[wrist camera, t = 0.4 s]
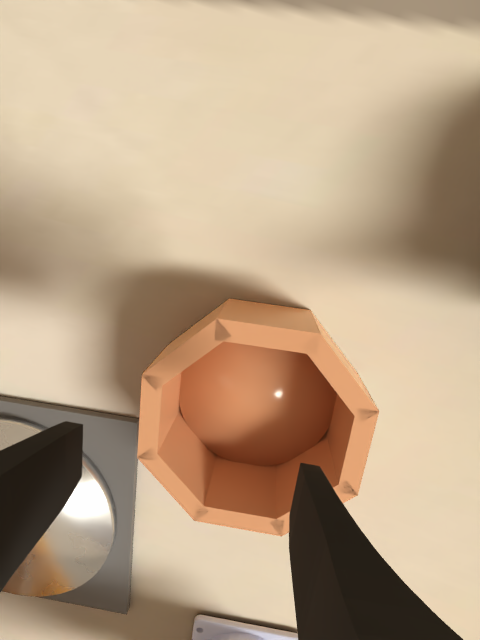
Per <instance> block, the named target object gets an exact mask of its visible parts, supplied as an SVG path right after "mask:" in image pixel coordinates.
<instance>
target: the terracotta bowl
mask: <svg viewBox="0 0 480 640" xmlns="http://www.w3.org/2000/svg"><path fill="white" fill-rule="evenodd" d="M180 408H181V410H180ZM378 414H379V410H378V408H377V407H376V405H375V403H374V401H373V400H372V398H371V396H370V394H369V392H368V391H367V389H366V387H365V385H364V384H363V382H362V380H361V378H360V377H359V375H358V373H357V372H356V370H355V369H354V368H353V366H352V365H351V364H350V362H349V361H348V360H347V358H346V357H345V356H344V354H343V353H342V352H341V350H340V349H339V348H338V346H337V345H336V344H335V342H334V341H333V340H332V338H331V337H330V336H329V334H328V333H327V332H326V330H325V329H324V328H323V326H322V325H321V323H320V322H319V321H318V319H317V318H316V317H315V315H314V314H313V313H312V311H311V310H307V309H300V308H293V307H286V306H279V305H272V304H265V303H258V302H251V301H244V300H236V299H230V298H229V299H228V300H227V301H225V302H224V303H223V304H221V305H220V306H219V307H217V308H216V309H215V310H213V311H212V312H211V313H209V314H208V315H207V316H205V317H204V318H203V319H201V320H200V321H199V322H197V323H196V324H195V325H193V326H192V327H191V328H190V329H188V330H187V331H186V332H184V333H183V334H182V335H180V336H179V337H178V338H176V339H175V340H174V341H172V342H171V343H170V344H168V345H167V347H166V348H165V349H164V350H163V351H162V352H161V353H160V354H159V356H158V357H157V358H156V359H155V360H154V361H153V362H152V363H151V364H150V366H149V367H148V368H147V369H146V370H145V371H144V372H143V373H142V381H141V399H140V417H139V435H138V453H137V458H138V459H139V460H140V461H141V462H142V463H143V465H144V466H145V467H146V468H147V469H148V470H149V471H150V472H151V473H152V474H153V476H154V477H155V478H156V479H157V480H158V481H159V482H160V483H161V484H162V485H163V487H164V488H165V489H166V490H167V491H168V492H169V493H170V494H171V495H172V497H173V498H174V499H175V500H176V501H177V502H178V503H179V504H180V505H181V506H182V508H183V509H184V510H185V511H186V512H187V513H188V514H189V515H190V516H191V518H192V519H193V520H194V521H199V522H205V523H210V524H216V525H221V526H227V527H232V528H238V529H244V530H249V531H255V532H260V533H266V534H272V535H277V536H283V535H285V534H286V533H288V532H289V514H290V510H291V505H292V500H293V495H294V491H295V486H296V481H297V476H298V472H299V467H300V463H306V464H311V465H317V466H320V467H321V469H322V470H323V472H324V474H325V475H326V477H327V479H328V480H329V482H330V484H331V485H332V487H333V489H334V490H335V492H336V494H337V495H338V497H339V498H340V500H341V502H342V503H344V502H346V501H348V500H350V499H351V498H353V497H355V496H358V492H359V488H360V484H361V480H362V476H363V472H364V468H365V465H366V461H367V457H368V453H369V449H370V445H371V441H372V437H373V433H374V429H375V425H376V421H377V417H378Z"/></svg>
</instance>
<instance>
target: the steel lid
mask: <svg viewBox="0 0 480 640" xmlns="http://www.w3.org/2000/svg"><path fill="white" fill-rule="evenodd" d="M46 429H48V427H46V426H43V425H41V424H38V423H35V422H33V421H30V420H26V419H22V418H17V417H11V416H2V415H0V450H3V449H5V448H7V447H9V446H11V445H13V444H16V443H18V442H20V441H22V440H24V439H26V438H29V437H31V436H33V435H35V434H37V433H39V432H41V431H44V430H46ZM116 530H117V512H116V507H115V502H114V499H113V496H112V493H111V490H110V488H109V486H108V484H107V482H106V480H105V478H104V477H103V475H102V474H101V472H100V470H99V469H98V468H97V466H96V465H95V464H94V463H93V462H92V460H91V459H90V458H89V457H88V456H87V455H86V454H85V453H84V452H83V453H82V477H81V479H80V481H79V483H78V485H77V486H76V488H75V490H74V492H73V493H72V495H71V497H70V498H69V500H68V502H67V503H66V505H65V506H64V508H63V509H62V511H61V512H60V513H59V515H58V516H57V517H56V519H55V520H54V521H53V523H52V524H51V525H50V527H49V528H48V529H47V531H46V532H45V533H44V535H43V536H42V537H41V538H40V540H39V541H38V542H37V544H36V545H35V546H34V548H33V549H32V550H31V552H30V553H29V554H28V555H27V557H26V558H25V559H24V561H23V562H22V563H21V565H20V566H19V567H18V569H17V570H16V571H15V572H14V574H13V575H12V577H11V578H10V579H9V581H8V582H7V584H6V585H5V587H4V588H3V589H2V591H4V592H8V593H13V594H17V595H24V596H51V595H56V594H61V593H65V592H68V591H71V590H73V589H75V588H77V587H79V586H81V585H83V584H84V583H86V582H87V581H89V580H90V579H91V578H92V577H93V576H94V575H95V574H96V573H97V572H98V571H99V569H100V568H101V567H102V565H103V564H104V562H105V560H106V558H107V556H108V554H109V552H110V550H111V548H112V546H113V543H114V540H115V536H116Z"/></svg>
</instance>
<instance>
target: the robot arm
mask: <svg viewBox="0 0 480 640" xmlns="http://www.w3.org/2000/svg"><path fill="white" fill-rule="evenodd" d="M82 453H83V424H79V423H73V422H68V421H65V422H62V423H59V424H57V425H55V426H52V427H50V428H48V429H46V430H44V431H41V432H39V433H37V434H35V435H33V436H31V437H29V438H26V439H24V440H22V441H20V442H18V443H16V444H13V445H11V446H9V447H7V448H5V449H3V450H0V592H1V591H2V589H3V588H4V587H5V585H6V584H7V582H8V581H9V579H10V578H11V577H12V575H13V574H14V572H15V571H16V570H17V569H18V567H19V566H20V565H21V563H22V562H23V561H24V559H25V558H26V557H27V555H28V554H29V553H30V552H31V550H32V549H33V548H34V546H35V545H36V544H37V542H38V541H39V540H40V538H41V537H42V536H43V535H44V533H45V532H46V531H47V529H48V528H49V527H50V525H51V524H52V523H53V521H54V520H55V519H56V517H57V516H58V515H59V513H60V512H61V511H62V509H63V508H64V506H65V505H66V503H67V502H68V500H69V498H70V497H71V495H72V493H73V492H74V490H75V488H76V486H77V485H78V483H79V481H80V479H81V477H82ZM289 552H290V562H291V572H292V582H293V592H294V601H295V611H296V620H297V630H298V633H293V632H288V631H283V630H278V629H273V628H268V627H262V626H257V625H252V624H247V623H242V622H237V621H231V620H226V619H221V618H216V617H211V616H206V615H197V616H196V617H195V619H194V625H193V633H192V640H463V639H462V638H461V637H460V636H459V635H457V634H456V633H455V632H454V631H453V630H452V629H451V628H450V627H449V626H448V625H446V624H445V623H444V622H443V621H442V620H441V619H440V618H439V617H438V616H437V615H436V614H435V613H434V612H433V611H432V610H431V609H430V608H429V607H428V606H427V605H426V604H425V603H424V602H423V601H422V600H421V599H420V598H419V597H418V596H417V595H416V594H415V593H414V592H413V591H412V590H411V589H410V588H409V587H408V586H407V585H406V584H405V583H404V582H403V581H402V580H401V578H400V577H399V576H398V575H397V574H396V573H395V572H394V571H393V569H392V568H391V567H390V566H389V565H388V564H387V562H386V561H385V560H384V559H383V558H382V557H381V555H380V554H379V553H378V552H377V551H376V549H375V548H374V547H373V546H372V544H371V543H370V542H369V540H368V539H367V538H366V536H365V535H364V534H363V532H362V531H361V530H360V528H359V527H358V525H357V524H356V523H355V521H354V520H353V518H352V517H351V515H350V514H349V512H348V511H347V509H346V508H345V506H344V505H343V503H342V502H341V500H340V498H339V497H338V495H337V494H336V492H335V490H334V489H333V487H332V485H331V484H330V482H329V480H328V479H327V477H326V475H325V474H324V472H323V470H322V469H321V467H320V466H317V465H311V464H306V463H300V467H299V472H298V476H297V481H296V486H295V491H294V495H293V500H292V505H291V510H290V514H289Z"/></svg>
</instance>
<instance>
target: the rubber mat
mask: <svg viewBox="0 0 480 640" xmlns="http://www.w3.org/2000/svg"><path fill="white" fill-rule="evenodd" d="M0 415H2V416H11V417H17V418H22V419H26V420H30V421H33V422H35V423H38V424H41V425H43V426H46V427H48V428H50V427H52V426H55V425H57V424H59V423H62V422H65V421H68V422H73V423H79V424H83V452H84V453H85V454H86V455H87V456H88V457H89V458H90V459H91V460H92V462H93V463H94V464H95V465H96V466H97V468H98V469H99V470H100V472H101V474H102V475H103V477H104V478H105V480H106V482H107V484H108V486H109V488H110V490H111V493H112V496H113V499H114V502H115V507H116V512H117V530H116V536H115V540H114V543H113V546H112V548H111V550H110V552H109V554H108V556H107V558H106V560H105V562H104V564H103V565H102V567H101V568H100V569H99V571H98V572H97V573H96V574H95V575H94V576H93V577H92V578H91V579H90V580H89V581H87V582H86V583H84V584H83V585H81V586H79V587H77V588H75V589H73V590H71V591H68V592H65V593H61V594H56V595H51V596H36V597H41V598H46V599H51V600H56V601H61V602H66V603H71V604H77V605H82V606H87V607H92V608H97V609H102V610H107V611H112V612H117V613H122V614H127V612H128V610H129V605H130V587H131V569H132V552H133V534H134V516H135V498H136V480H137V463H138V458H137V453H138V435H139V419H138V418H131V417H125V416H119V415H113V414H107V413H101V412H95V411H89V410H83V409H77V408H70V407H64V406H58V405H52V404H46V403H40V402H34V401H28V400H22V399H16V398H9V397H3V396H0Z"/></svg>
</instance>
